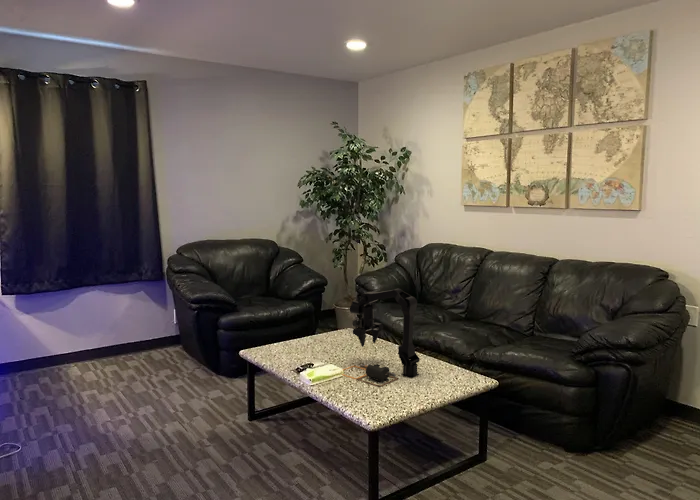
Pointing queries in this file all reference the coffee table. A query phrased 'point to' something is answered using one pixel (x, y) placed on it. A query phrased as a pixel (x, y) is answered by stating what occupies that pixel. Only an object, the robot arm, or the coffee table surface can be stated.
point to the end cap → (377, 372)
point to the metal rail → (386, 373)
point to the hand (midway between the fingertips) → (368, 344)
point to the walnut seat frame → (376, 384)
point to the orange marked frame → (353, 377)
